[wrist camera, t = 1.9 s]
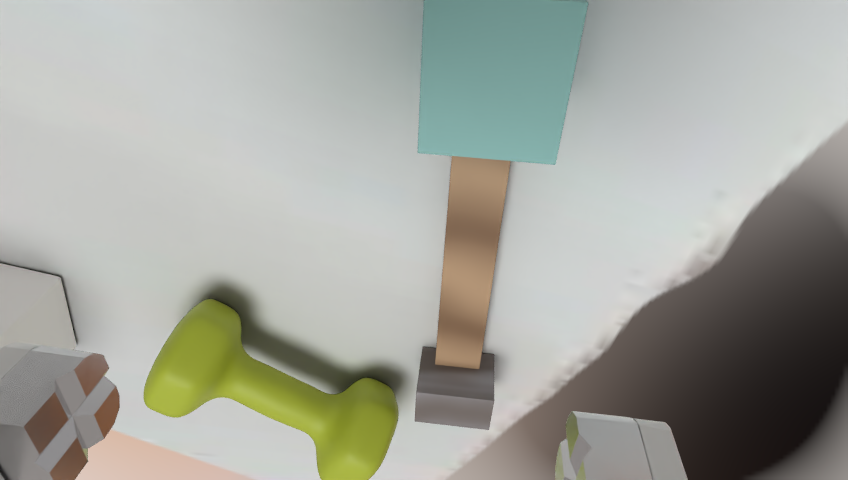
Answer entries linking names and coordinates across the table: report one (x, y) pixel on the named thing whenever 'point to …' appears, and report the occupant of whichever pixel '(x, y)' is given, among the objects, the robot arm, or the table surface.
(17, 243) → the table surface
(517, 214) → the table surface
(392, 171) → the table surface
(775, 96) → the table surface
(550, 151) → the block
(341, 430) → the dumbbell
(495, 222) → the rail
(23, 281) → the milk carton
